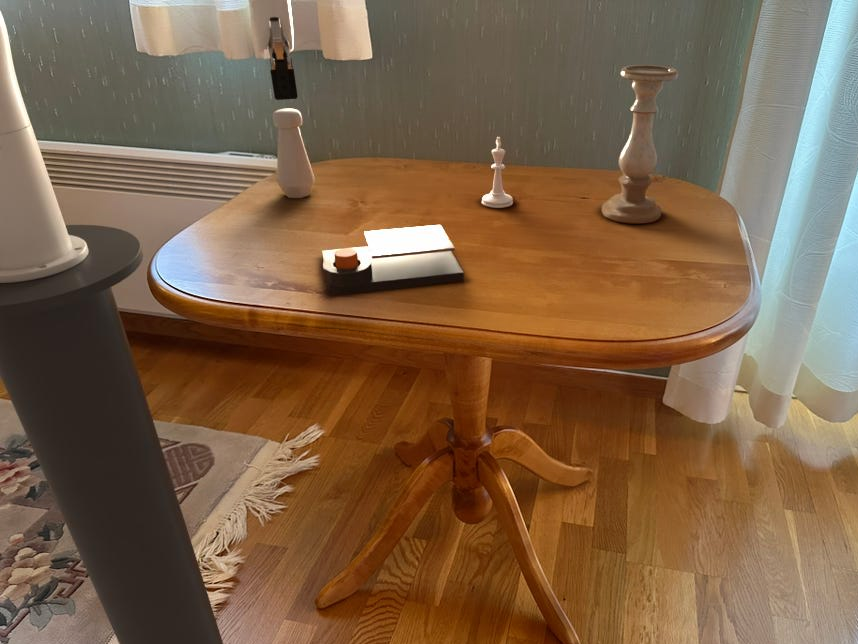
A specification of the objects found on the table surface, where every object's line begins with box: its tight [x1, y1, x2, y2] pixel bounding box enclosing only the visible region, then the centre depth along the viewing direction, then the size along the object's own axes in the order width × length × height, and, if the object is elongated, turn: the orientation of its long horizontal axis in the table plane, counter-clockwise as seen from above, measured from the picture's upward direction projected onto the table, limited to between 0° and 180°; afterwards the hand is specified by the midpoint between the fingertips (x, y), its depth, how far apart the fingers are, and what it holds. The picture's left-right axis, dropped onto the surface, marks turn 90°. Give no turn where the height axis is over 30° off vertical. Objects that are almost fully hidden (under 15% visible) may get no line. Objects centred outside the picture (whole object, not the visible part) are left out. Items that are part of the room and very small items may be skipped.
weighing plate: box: [363, 224, 456, 259], centre depth 84 cm, size 10×8×1 cm
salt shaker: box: [272, 108, 315, 199], centre depth 105 cm, size 6×6×13 cm
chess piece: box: [481, 136, 514, 209], centre depth 103 cm, size 5×5×10 cm
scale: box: [321, 245, 465, 297], centre depth 83 cm, size 16×12×3 cm
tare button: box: [334, 247, 358, 269], centre depth 78 cm, size 3×3×2 cm
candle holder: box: [601, 64, 679, 224], centre depth 96 cm, size 9×9×20 cm
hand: (285, 92), depth 101 cm, fingers open, 9 cm apart
